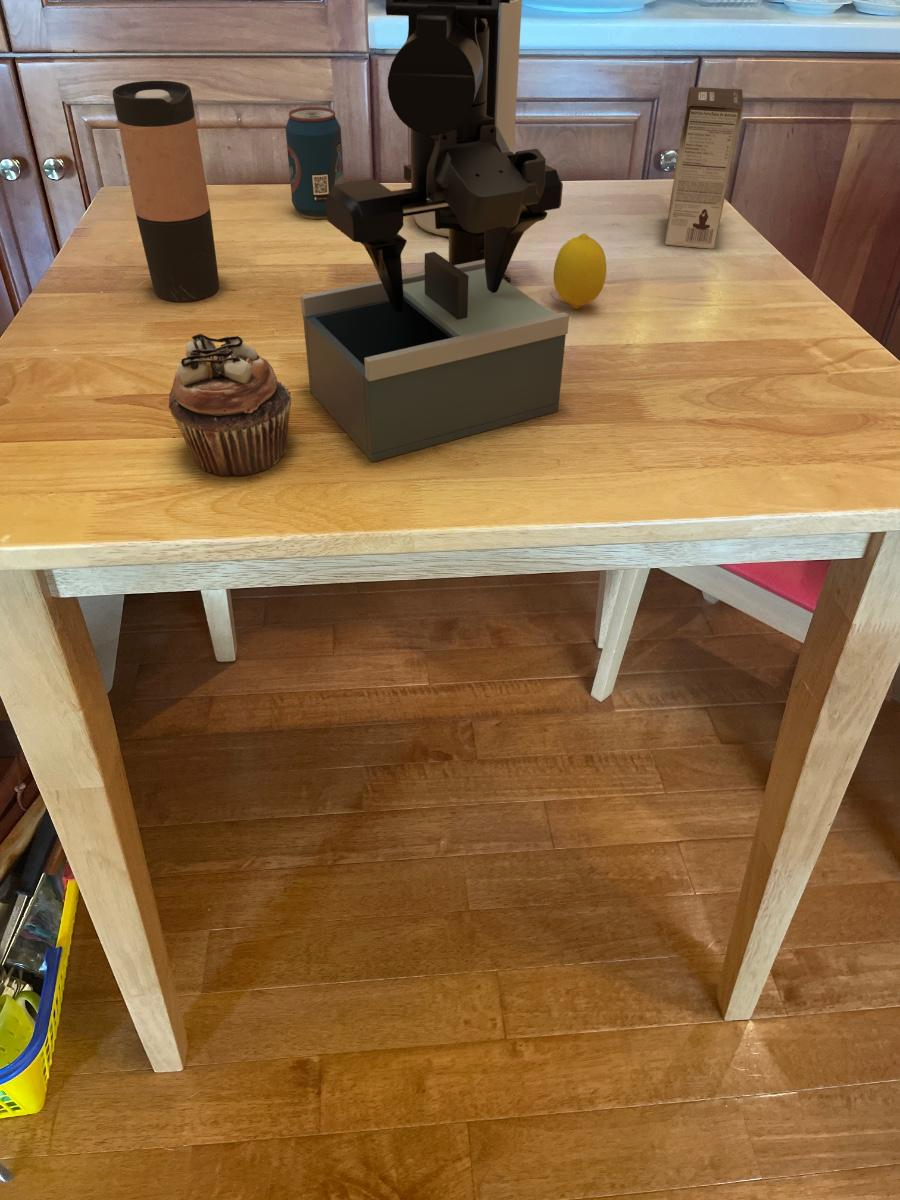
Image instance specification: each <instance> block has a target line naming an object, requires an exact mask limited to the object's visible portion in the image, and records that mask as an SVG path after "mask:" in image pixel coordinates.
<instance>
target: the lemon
mask: <svg viewBox="0 0 900 1200" xmlns="http://www.w3.org/2000/svg"><path fill="white" fill-rule="evenodd" d="M606 259H607V258H606V254H605V251H604V249H603V247H602V245H601V244H600V243H599V242H598V241H596V240H595V239H594V238H592V237H589V235H588V234H587V233H580V234H579V236H576V237H572V238H571V239H569V240H567V242H565V243H564V244H563V245H562V247H560V250H559V251H558V253H557V256H556V259H555V262H554V267H553V285H554V288H555V290H556V293H557V295H558V296H559V298H561V300H563V301H564V302H565V303H567V304H569V305H570V306H571V307H572V309H574V310H578V309H580V308H581V307H582V306H583V305H587V304H589V303H591V302H593V301H594V300H595V299H596V298H597V297H598V296H599V295H600V293H601V292H602V290H603V288H604V285H605V281H606V277H607V260H606Z"/></svg>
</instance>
